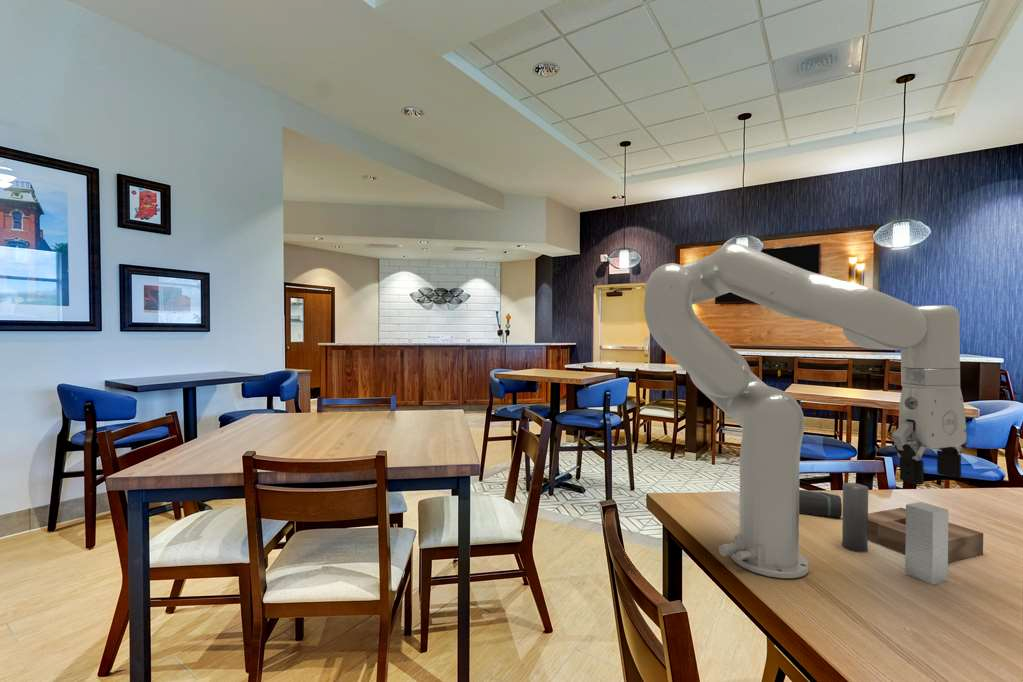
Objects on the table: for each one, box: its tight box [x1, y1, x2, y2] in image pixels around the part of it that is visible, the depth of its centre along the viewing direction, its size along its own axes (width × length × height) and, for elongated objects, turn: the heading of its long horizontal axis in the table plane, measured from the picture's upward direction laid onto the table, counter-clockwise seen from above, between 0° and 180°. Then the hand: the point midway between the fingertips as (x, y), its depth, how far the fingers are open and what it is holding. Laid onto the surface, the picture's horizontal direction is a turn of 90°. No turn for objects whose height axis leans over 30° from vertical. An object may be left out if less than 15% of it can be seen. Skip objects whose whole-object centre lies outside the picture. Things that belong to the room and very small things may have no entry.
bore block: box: [868, 507, 984, 564], centre depth 94 cm, size 14×14×4 cm
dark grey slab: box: [799, 489, 843, 518], centre depth 110 cm, size 5×19×20 cm
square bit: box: [904, 501, 949, 586], centre depth 81 cm, size 4×4×12 cm
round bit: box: [841, 482, 869, 553], centre depth 92 cm, size 4×4×12 cm
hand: (930, 479), depth 81 cm, fingers open, 9 cm apart
